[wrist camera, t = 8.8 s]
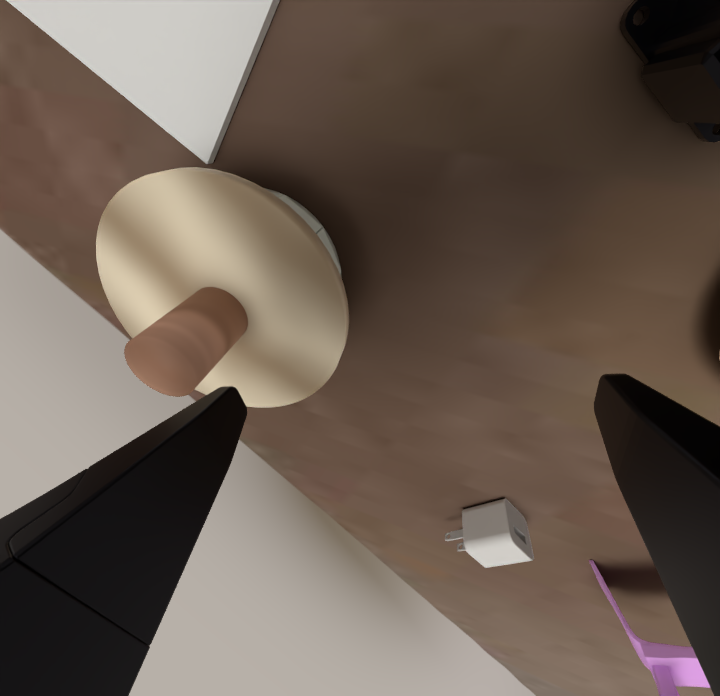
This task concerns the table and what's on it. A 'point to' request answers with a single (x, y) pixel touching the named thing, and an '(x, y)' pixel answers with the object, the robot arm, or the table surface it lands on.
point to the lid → (221, 288)
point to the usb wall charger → (494, 534)
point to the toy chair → (662, 656)
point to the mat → (165, 55)
